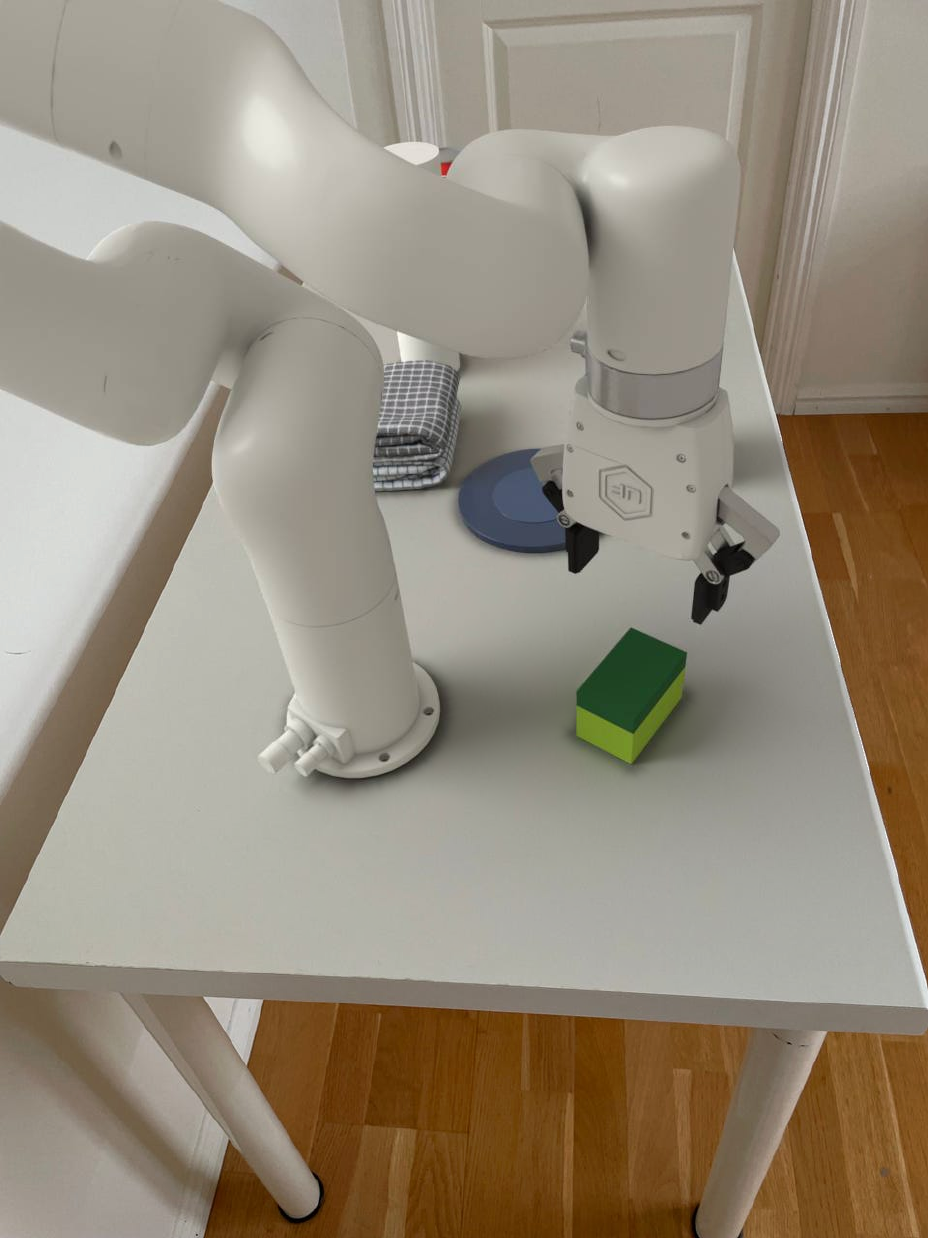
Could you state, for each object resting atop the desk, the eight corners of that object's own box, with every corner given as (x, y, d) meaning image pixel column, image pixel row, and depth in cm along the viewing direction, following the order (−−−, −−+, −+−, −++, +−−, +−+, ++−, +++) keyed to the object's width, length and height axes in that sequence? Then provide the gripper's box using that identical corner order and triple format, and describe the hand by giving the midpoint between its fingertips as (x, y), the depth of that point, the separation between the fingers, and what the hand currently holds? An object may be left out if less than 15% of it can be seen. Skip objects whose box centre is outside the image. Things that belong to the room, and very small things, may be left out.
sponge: (631, 765, 72) (634, 720, 68) (576, 736, 74) (576, 691, 71) (681, 697, 76) (687, 652, 72) (628, 672, 79) (630, 626, 75)
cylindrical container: (468, 372, 114) (449, 157, 96) (413, 388, 113) (383, 172, 95) (447, 346, 119) (425, 136, 101) (394, 361, 118) (362, 151, 100)
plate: (559, 574, 88) (559, 567, 87) (427, 517, 95) (426, 510, 95) (645, 484, 96) (646, 477, 95) (517, 438, 104) (517, 431, 103)
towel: (453, 492, 98) (446, 428, 92) (282, 495, 100) (265, 433, 94) (464, 410, 108) (458, 349, 103) (310, 415, 110) (296, 355, 105)
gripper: (492, 363, 56) (511, 574, 68) (768, 445, 48) (733, 668, 60) (561, 308, 60) (567, 516, 72) (827, 375, 52) (783, 597, 64)
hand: (642, 585), depth 66 cm, fingers open, 9 cm apart
